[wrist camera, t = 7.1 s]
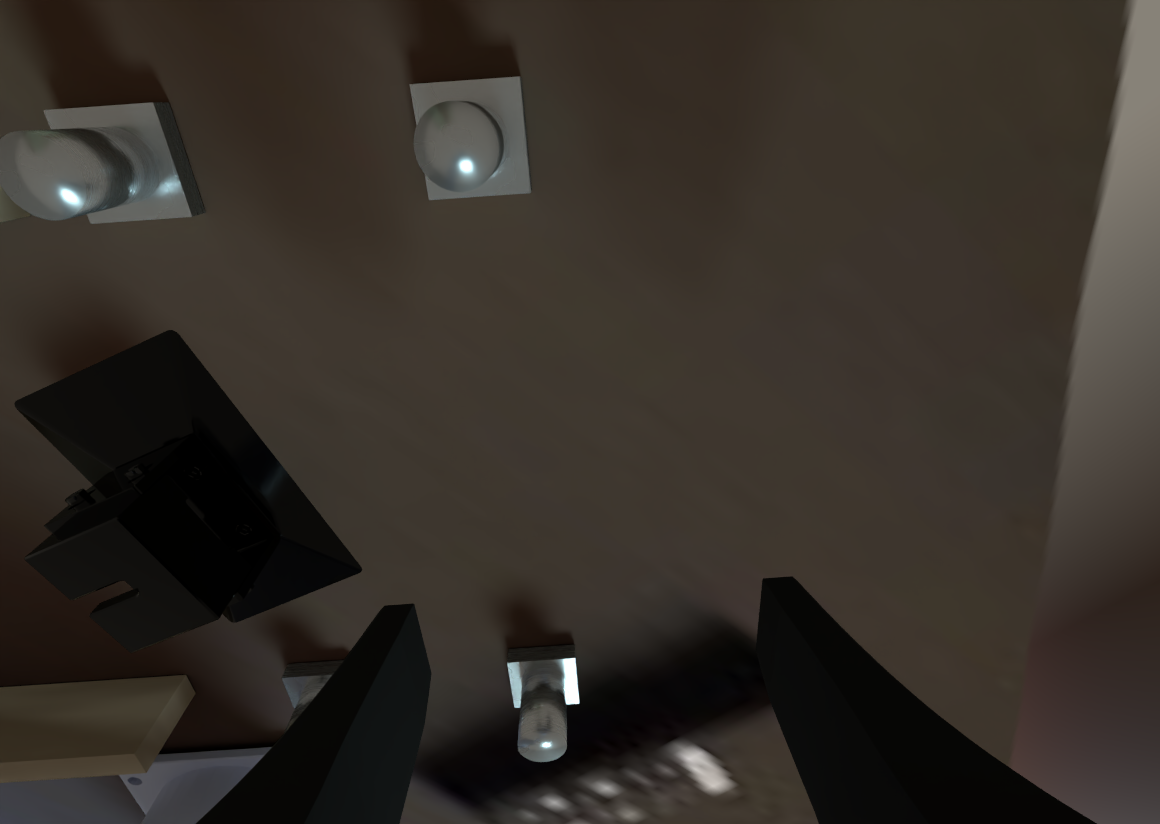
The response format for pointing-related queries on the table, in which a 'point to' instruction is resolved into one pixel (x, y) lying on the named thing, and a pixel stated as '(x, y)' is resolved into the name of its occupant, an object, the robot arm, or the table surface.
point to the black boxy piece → (173, 500)
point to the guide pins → (168, 190)
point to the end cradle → (85, 710)
